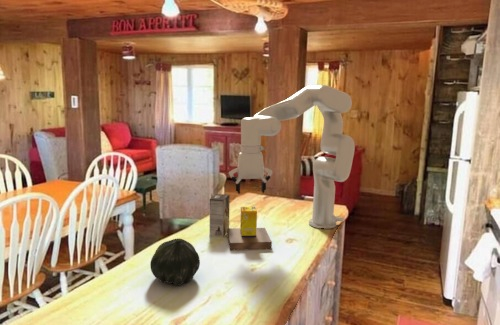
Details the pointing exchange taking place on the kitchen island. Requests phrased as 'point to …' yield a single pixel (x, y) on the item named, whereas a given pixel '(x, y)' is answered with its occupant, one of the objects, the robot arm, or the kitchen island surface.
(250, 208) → the supplement box
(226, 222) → the coffee box
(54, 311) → the kitchen island surface
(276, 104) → the robot arm
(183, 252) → the squash
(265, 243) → the base
